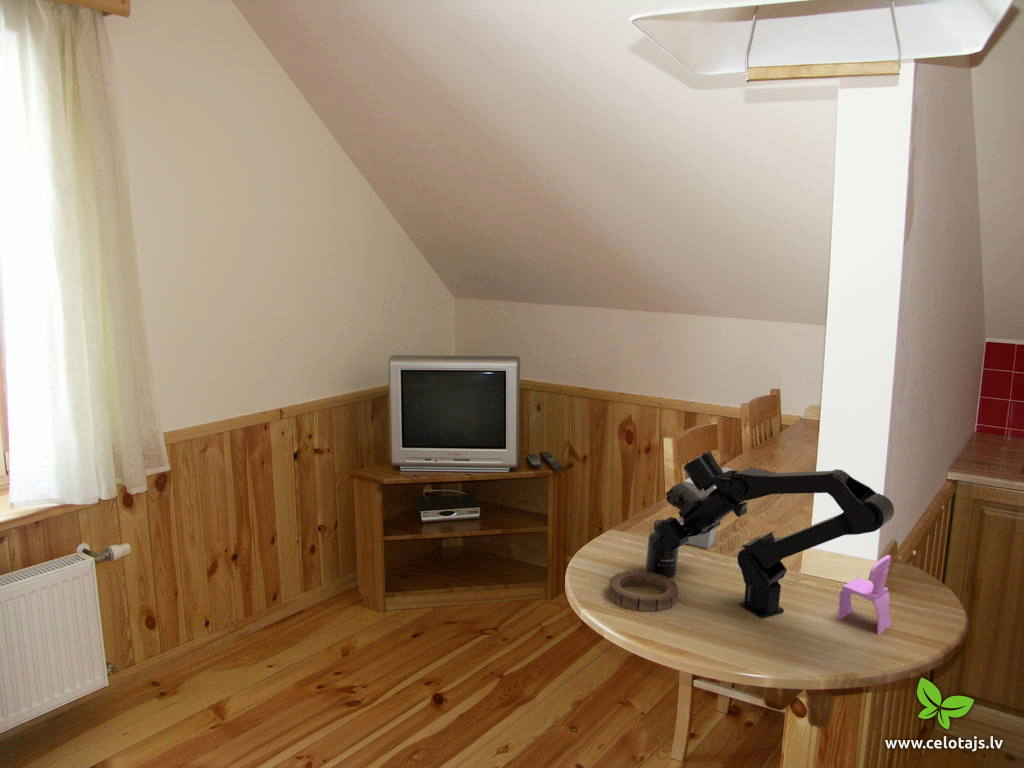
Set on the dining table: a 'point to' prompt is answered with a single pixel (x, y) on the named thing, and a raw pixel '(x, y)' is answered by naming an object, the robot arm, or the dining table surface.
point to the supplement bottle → (660, 556)
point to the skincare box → (702, 539)
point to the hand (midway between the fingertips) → (664, 542)
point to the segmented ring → (642, 601)
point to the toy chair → (869, 593)
